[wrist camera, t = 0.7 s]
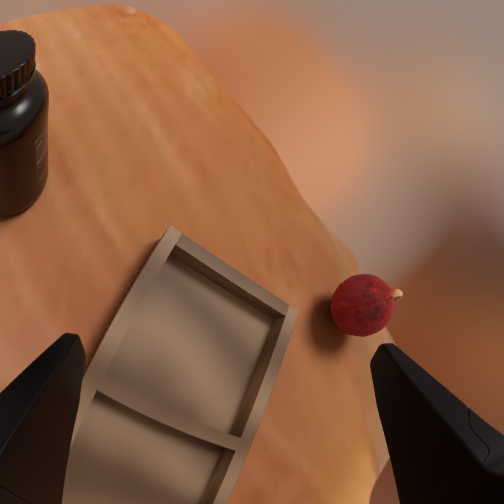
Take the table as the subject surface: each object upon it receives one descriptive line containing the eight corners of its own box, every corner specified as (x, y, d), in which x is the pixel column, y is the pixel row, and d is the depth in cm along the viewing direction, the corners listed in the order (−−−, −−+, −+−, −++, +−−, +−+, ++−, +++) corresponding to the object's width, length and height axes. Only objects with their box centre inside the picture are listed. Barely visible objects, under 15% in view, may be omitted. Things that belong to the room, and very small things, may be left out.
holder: (182, 554, 14) (194, 569, 12) (30, 502, 11) (27, 517, 9) (280, 316, 27) (298, 311, 25) (160, 238, 23) (170, 225, 21)
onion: (330, 352, 28) (399, 341, 22) (304, 301, 29) (371, 278, 22) (359, 323, 32) (422, 306, 26) (337, 277, 32) (398, 252, 26)
